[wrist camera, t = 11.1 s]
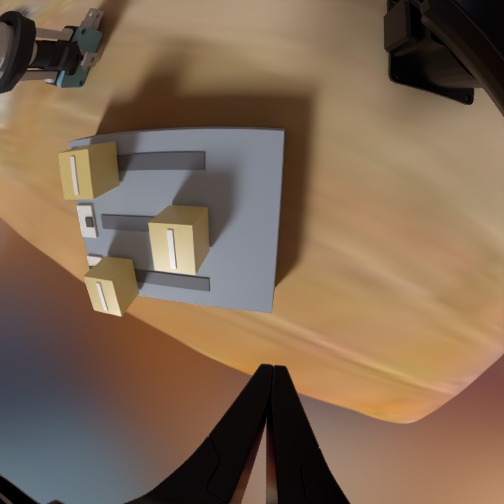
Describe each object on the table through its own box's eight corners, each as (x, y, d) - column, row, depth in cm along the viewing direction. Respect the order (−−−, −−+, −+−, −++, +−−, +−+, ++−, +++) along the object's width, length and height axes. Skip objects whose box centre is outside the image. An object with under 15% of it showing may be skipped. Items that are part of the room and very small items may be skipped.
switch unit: (285, 128, 16) (283, 131, 14) (274, 288, 22) (271, 315, 19) (94, 135, 18) (66, 142, 15) (113, 269, 23) (94, 289, 20)
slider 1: (115, 141, 15) (87, 149, 12) (119, 185, 16) (92, 200, 14) (87, 144, 15) (57, 153, 13) (91, 186, 16) (63, 200, 14)
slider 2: (132, 259, 19) (111, 281, 16) (139, 292, 20) (121, 317, 17) (105, 256, 19) (83, 276, 16) (112, 288, 20) (93, 310, 18)
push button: (83, 10, 13) (-11, -7, 4) (130, 16, 13) (31, -17, 5) (54, 83, 16) (-43, 95, 7) (97, 96, 17) (-12, 109, 8)
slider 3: (208, 206, 16) (191, 226, 14) (209, 251, 17) (195, 275, 15) (169, 205, 16) (147, 223, 14) (173, 247, 18) (154, 271, 15)
